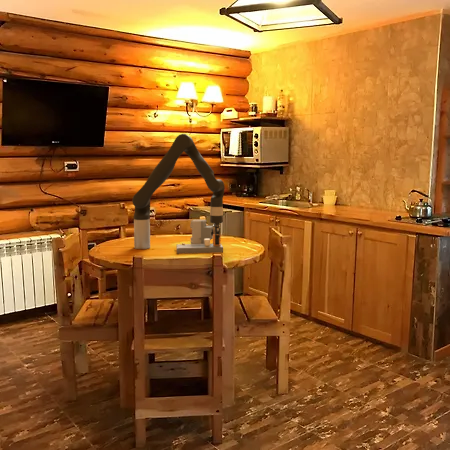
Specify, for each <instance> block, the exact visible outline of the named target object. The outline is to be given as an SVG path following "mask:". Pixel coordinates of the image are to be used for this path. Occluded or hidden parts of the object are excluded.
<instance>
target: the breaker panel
mask: <svg viewBox="0 0 450 450" xmlns="http://www.w3.org/2000/svg"><path fill="white" fill-rule="evenodd" d="M210 253H211V254H212V253H224V246H223V245H222V242H220V246H214V245H213V243H210V246H205V245H204V244H191V243H185V242H183V243H182V242H181V244H180V243H179V244H176V254H210Z"/></svg>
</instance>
